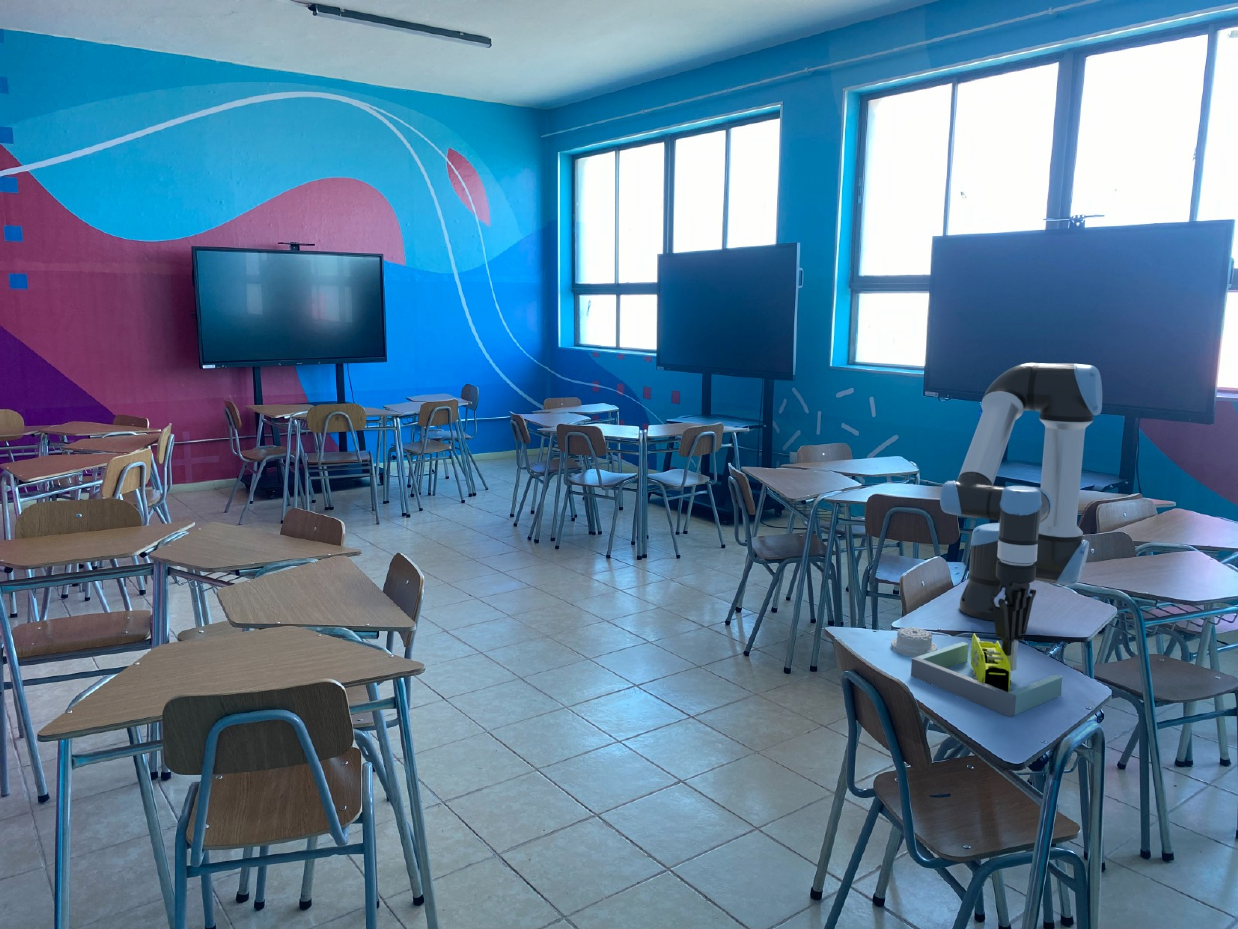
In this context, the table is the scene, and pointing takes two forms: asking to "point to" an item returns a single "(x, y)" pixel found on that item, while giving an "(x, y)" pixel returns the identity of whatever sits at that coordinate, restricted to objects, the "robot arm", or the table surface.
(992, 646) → the yellow toy chassis
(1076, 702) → the table surface
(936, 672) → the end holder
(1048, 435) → the robot arm
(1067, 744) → the table surface
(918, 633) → the white cake
